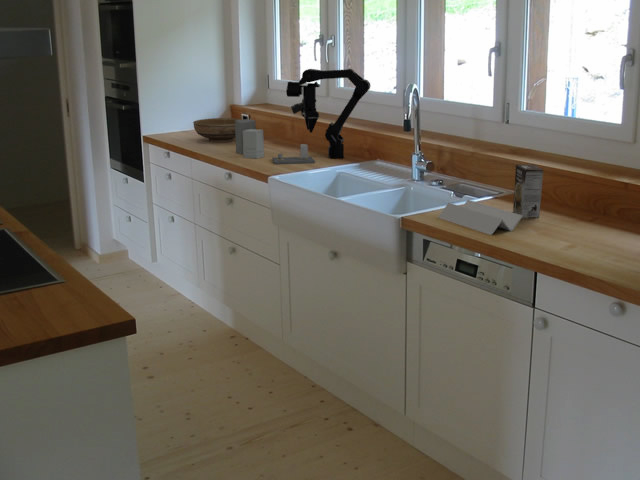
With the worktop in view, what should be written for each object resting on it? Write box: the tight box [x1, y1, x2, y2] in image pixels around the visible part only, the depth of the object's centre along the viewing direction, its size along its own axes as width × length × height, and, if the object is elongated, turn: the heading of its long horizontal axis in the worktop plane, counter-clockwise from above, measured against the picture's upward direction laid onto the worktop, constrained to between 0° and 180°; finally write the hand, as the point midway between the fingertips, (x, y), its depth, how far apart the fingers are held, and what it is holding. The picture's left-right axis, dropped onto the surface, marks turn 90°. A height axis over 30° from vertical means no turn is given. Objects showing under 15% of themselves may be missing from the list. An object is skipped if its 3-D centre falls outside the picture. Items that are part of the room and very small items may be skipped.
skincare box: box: [235, 118, 257, 155], centre depth 376 cm, size 8×7×16 cm
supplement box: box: [243, 128, 265, 159], centre depth 365 cm, size 7×7×13 cm
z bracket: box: [437, 199, 523, 236], centre depth 250 cm, size 12×25×6 cm
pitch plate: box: [271, 153, 316, 165], centre depth 356 cm, size 18×12×4 cm, turn 98°
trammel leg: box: [299, 143, 309, 159], centre depth 355 cm, size 3×3×6 cm
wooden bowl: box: [192, 117, 245, 143], centre depth 414 cm, size 37×29×10 cm
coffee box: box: [512, 163, 544, 219], centre depth 259 cm, size 9×6×16 cm
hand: (309, 131), depth 364 cm, fingers open, 9 cm apart
